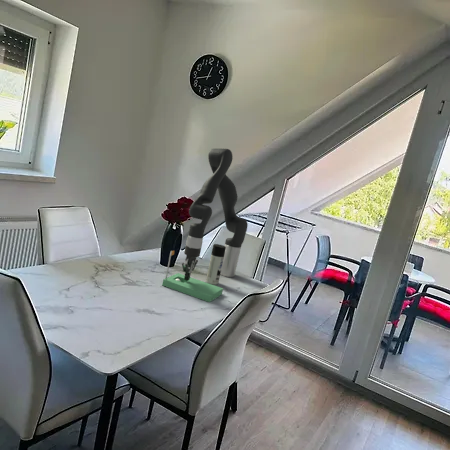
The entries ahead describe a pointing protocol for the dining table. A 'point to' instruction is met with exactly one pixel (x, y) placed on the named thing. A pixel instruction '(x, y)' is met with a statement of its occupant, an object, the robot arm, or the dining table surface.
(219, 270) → the spray can
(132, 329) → the dining table surface
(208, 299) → the putting green
